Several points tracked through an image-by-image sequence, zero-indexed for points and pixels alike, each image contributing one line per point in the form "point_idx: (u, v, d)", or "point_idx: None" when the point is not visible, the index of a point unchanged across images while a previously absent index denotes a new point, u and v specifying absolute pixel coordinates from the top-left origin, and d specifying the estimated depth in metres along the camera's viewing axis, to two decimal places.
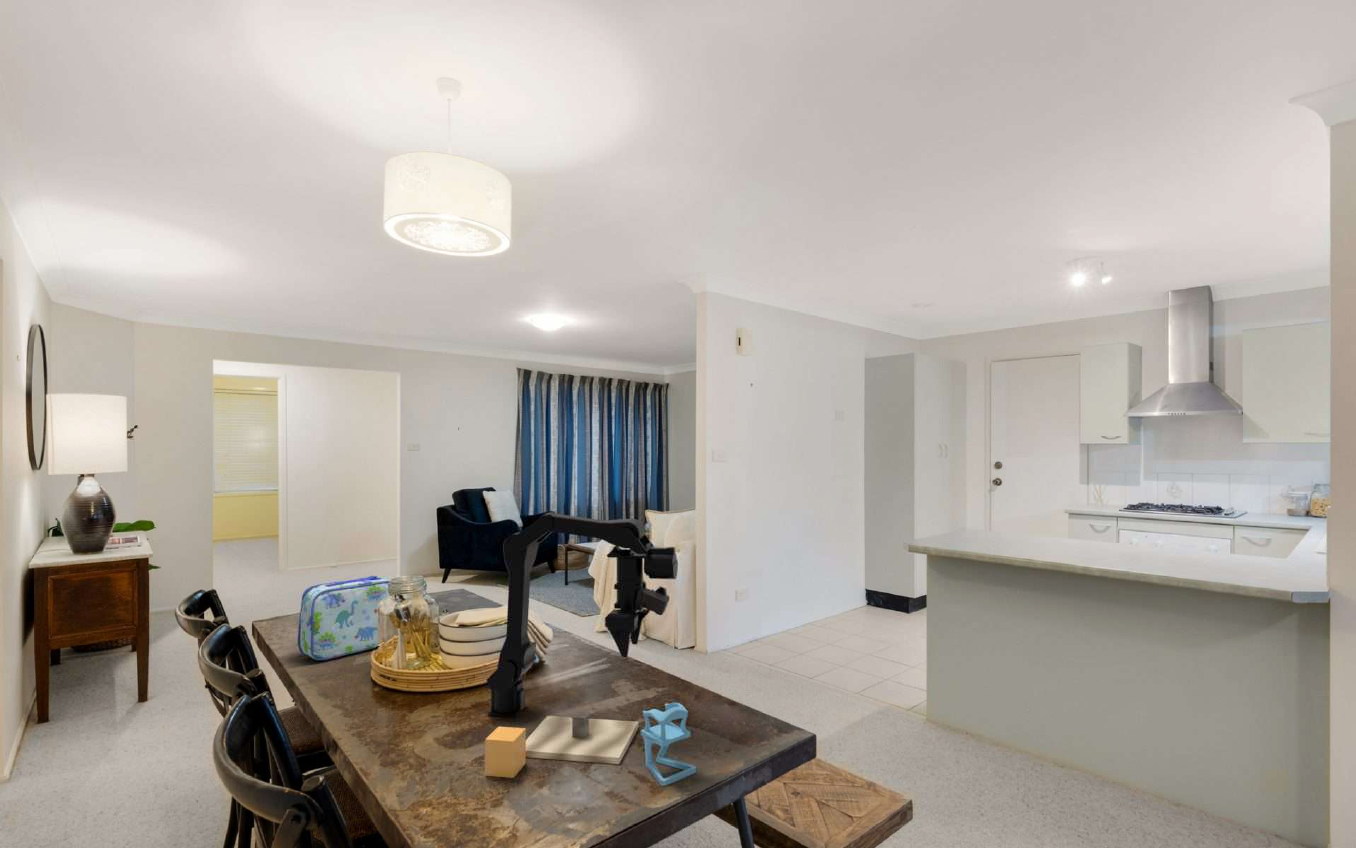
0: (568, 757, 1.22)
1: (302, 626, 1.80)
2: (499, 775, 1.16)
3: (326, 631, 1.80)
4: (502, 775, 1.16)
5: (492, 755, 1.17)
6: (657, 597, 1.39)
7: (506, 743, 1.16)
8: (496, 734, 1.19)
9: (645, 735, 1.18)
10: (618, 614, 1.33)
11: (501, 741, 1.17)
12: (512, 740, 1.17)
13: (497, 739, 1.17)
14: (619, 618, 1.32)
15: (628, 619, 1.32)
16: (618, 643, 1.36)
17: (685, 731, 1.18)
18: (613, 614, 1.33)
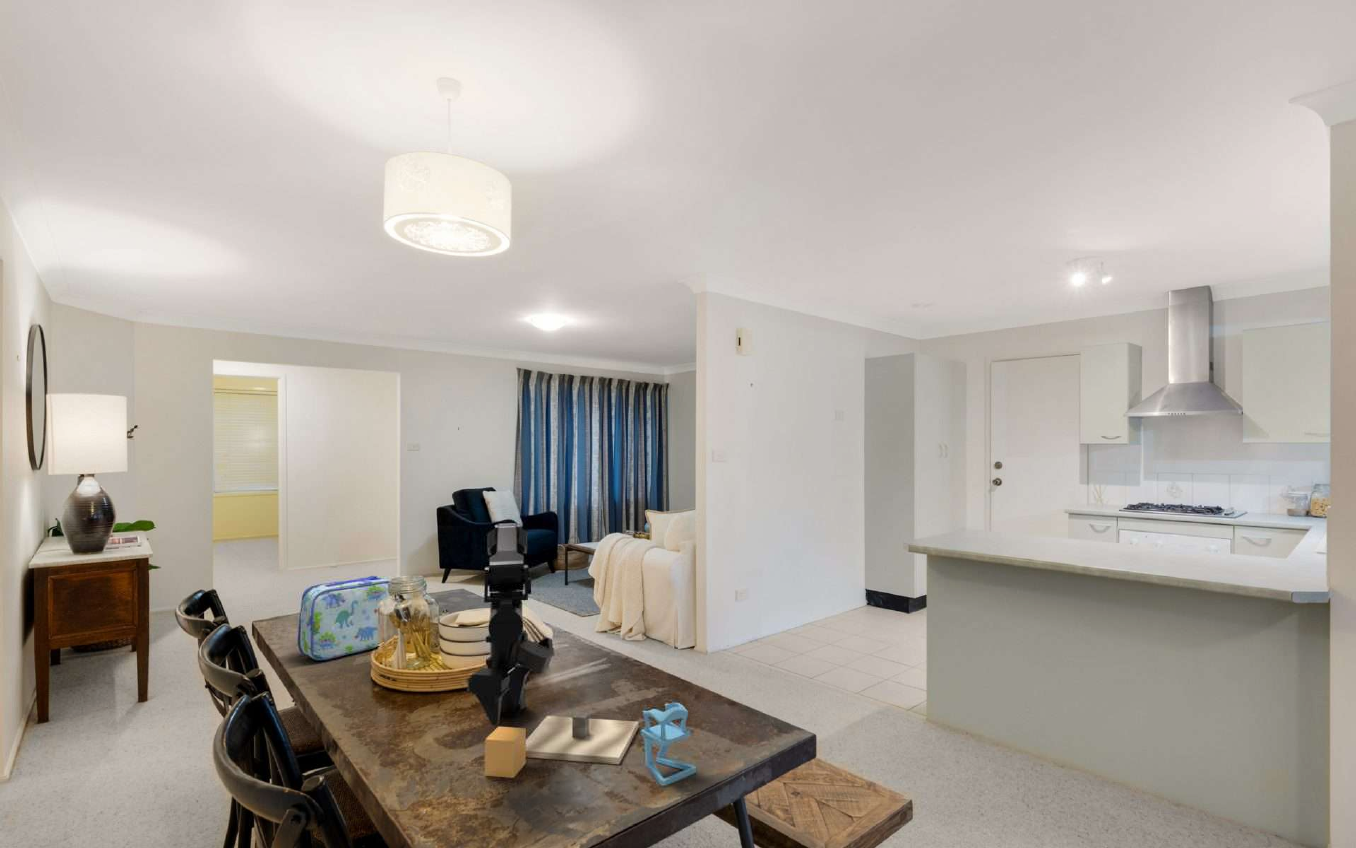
0: (568, 757, 1.22)
1: (302, 626, 1.80)
2: (499, 775, 1.16)
3: (326, 631, 1.80)
4: (502, 775, 1.16)
5: (492, 755, 1.17)
6: (536, 652, 1.17)
7: (506, 743, 1.16)
8: (496, 734, 1.19)
9: (645, 735, 1.18)
10: (483, 676, 1.11)
11: (501, 741, 1.17)
12: (512, 740, 1.17)
13: (497, 739, 1.17)
14: (483, 681, 1.11)
15: (494, 682, 1.10)
16: (486, 709, 1.14)
17: (685, 731, 1.18)
18: (477, 675, 1.11)
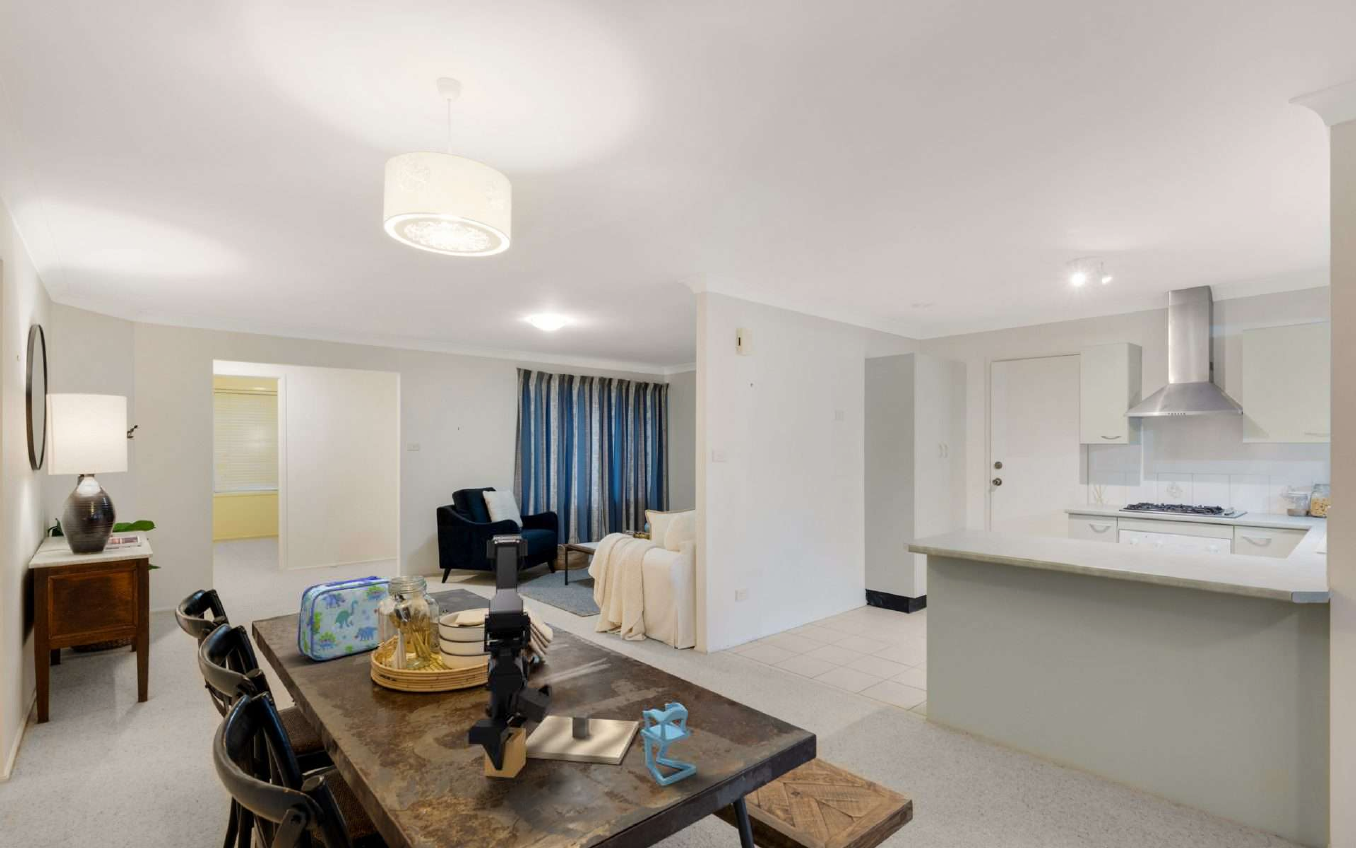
0: (568, 757, 1.22)
1: (302, 626, 1.80)
2: (499, 775, 1.16)
3: (326, 631, 1.80)
4: (502, 775, 1.16)
5: None
6: (536, 701, 1.17)
7: (506, 743, 1.16)
8: None
9: (645, 735, 1.18)
10: (482, 727, 1.11)
11: None
12: (512, 740, 1.17)
13: None
14: (483, 733, 1.10)
15: (493, 734, 1.10)
16: (490, 754, 1.16)
17: (685, 731, 1.18)
18: (476, 727, 1.11)
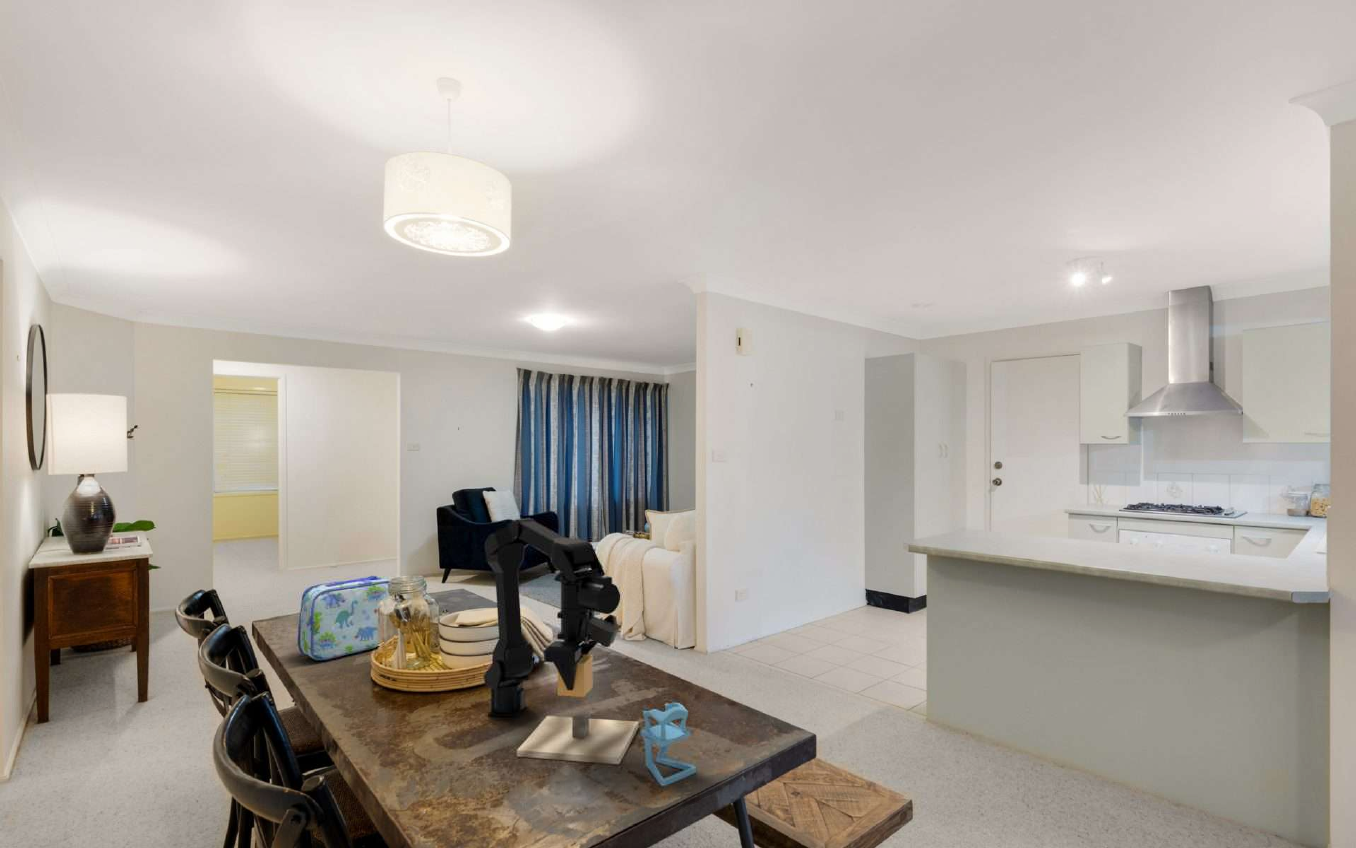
0: (568, 757, 1.22)
1: (302, 626, 1.80)
2: (571, 694, 1.27)
3: (326, 631, 1.80)
4: (573, 694, 1.27)
5: None
6: (604, 627, 1.27)
7: (577, 665, 1.27)
8: None
9: (645, 735, 1.18)
10: (558, 647, 1.21)
11: None
12: (582, 663, 1.27)
13: None
14: (558, 652, 1.21)
15: (568, 653, 1.20)
16: (562, 675, 1.26)
17: (685, 731, 1.18)
18: (552, 647, 1.22)
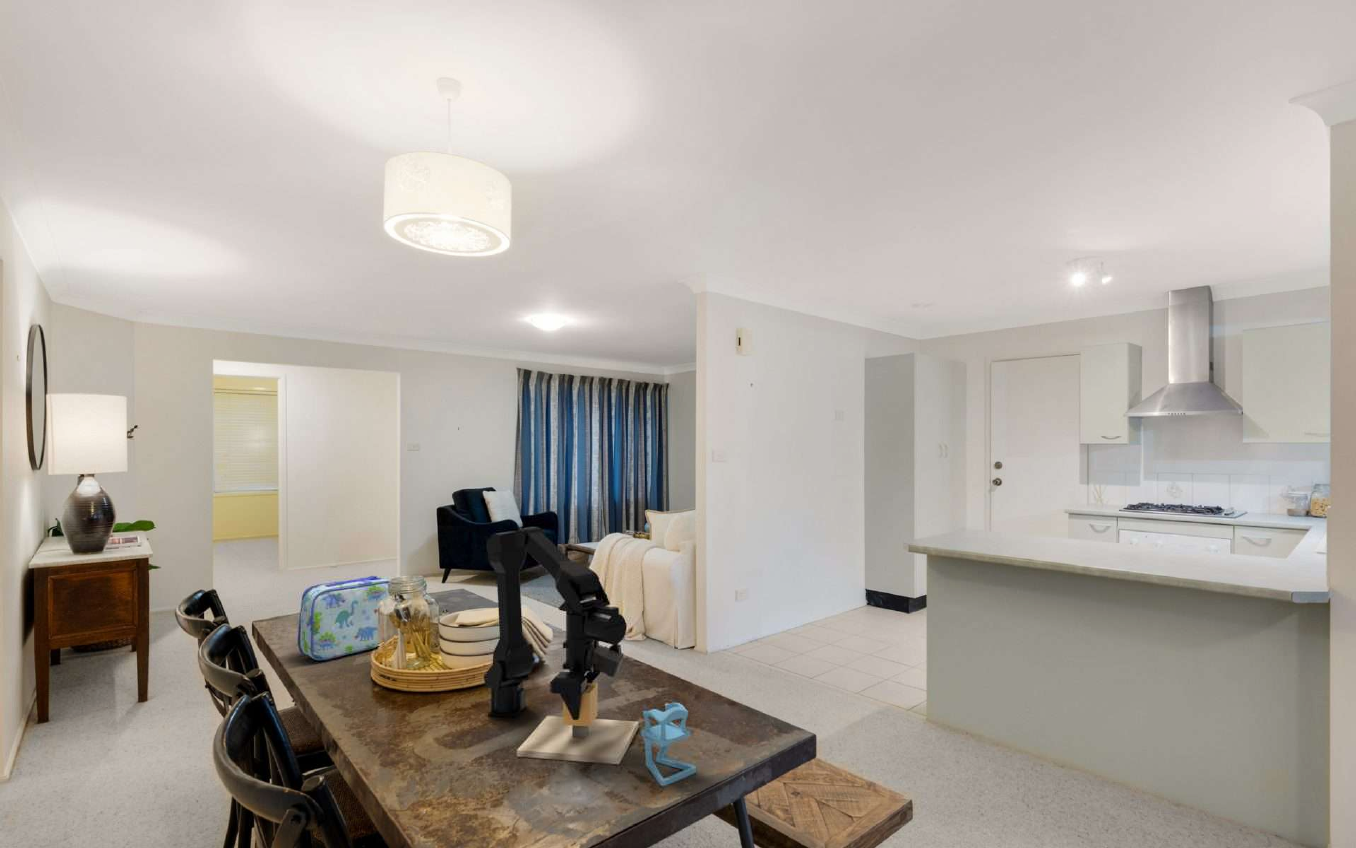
0: (568, 757, 1.22)
1: (302, 626, 1.80)
2: (576, 724, 1.28)
3: (326, 631, 1.80)
4: (579, 724, 1.28)
5: None
6: (609, 657, 1.28)
7: (582, 695, 1.28)
8: None
9: (645, 735, 1.18)
10: (564, 678, 1.22)
11: None
12: (588, 692, 1.28)
13: None
14: (565, 683, 1.22)
15: (575, 684, 1.21)
16: (568, 705, 1.27)
17: (685, 731, 1.18)
18: (559, 678, 1.22)
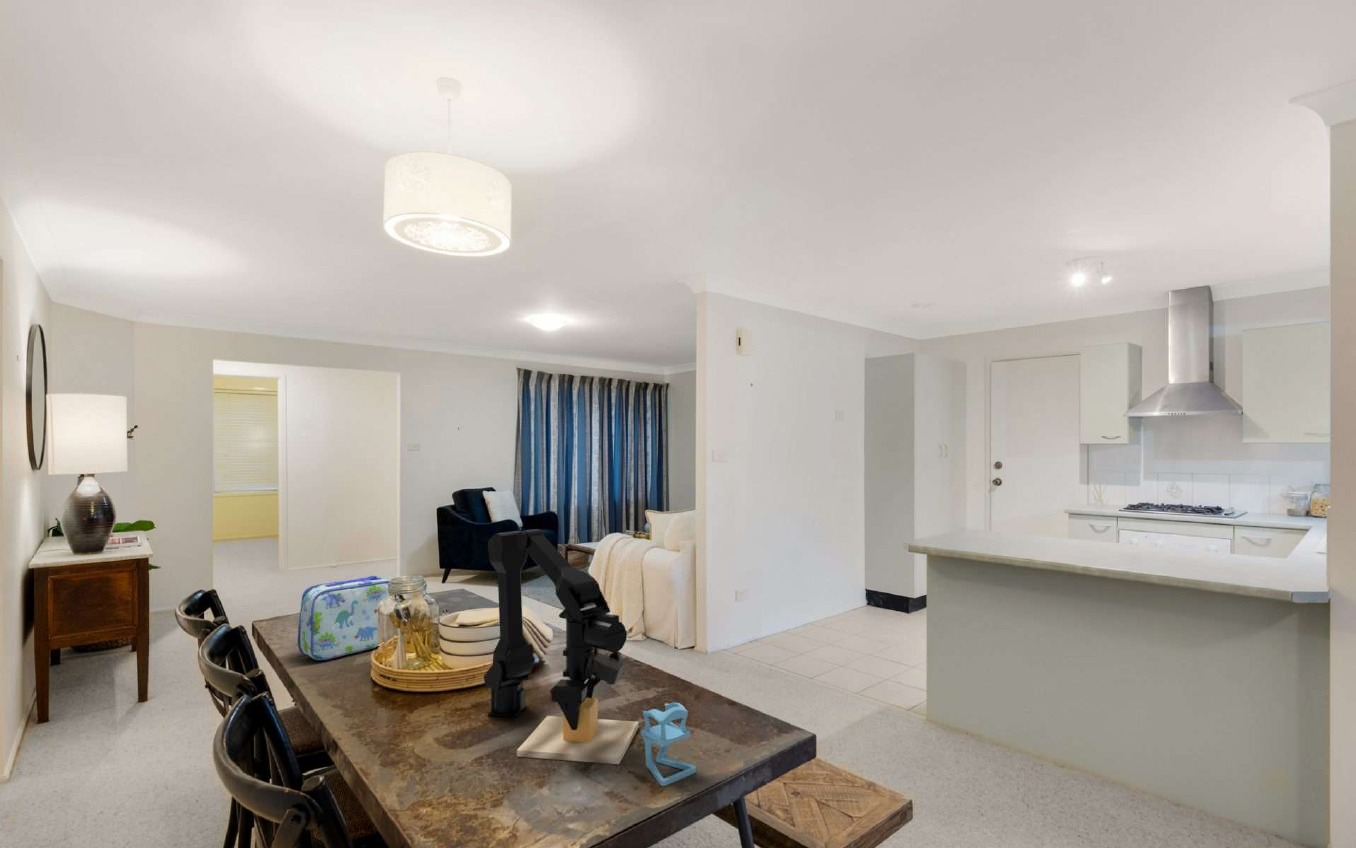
0: (568, 757, 1.22)
1: (302, 626, 1.80)
2: (576, 740, 1.28)
3: (326, 631, 1.80)
4: (579, 740, 1.27)
5: None
6: (609, 665, 1.28)
7: (582, 710, 1.28)
8: None
9: (645, 735, 1.18)
10: (564, 687, 1.22)
11: None
12: (588, 708, 1.28)
13: None
14: (565, 692, 1.21)
15: (575, 693, 1.21)
16: (566, 715, 1.26)
17: (685, 731, 1.18)
18: (559, 687, 1.22)
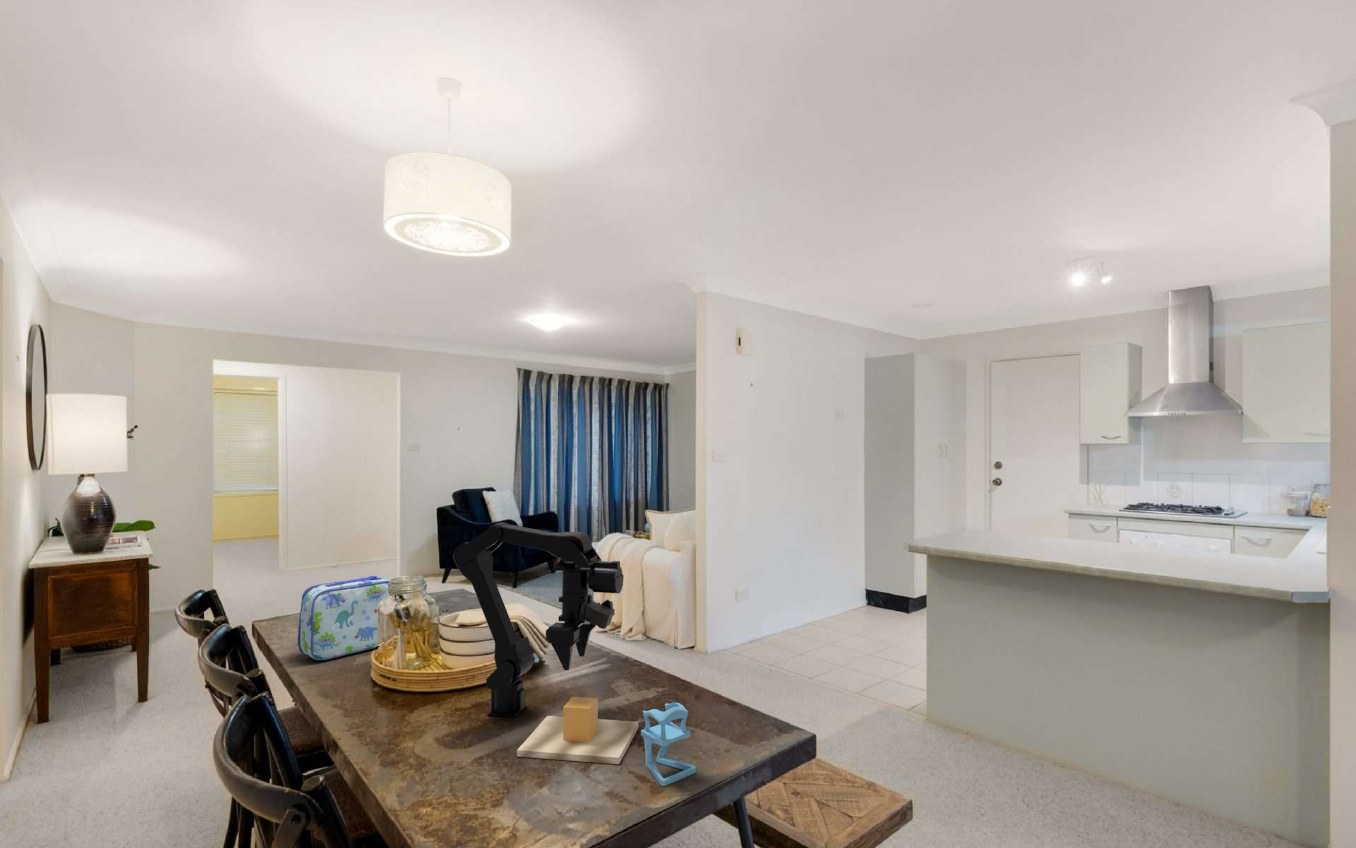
0: (568, 757, 1.22)
1: (302, 626, 1.80)
2: (576, 740, 1.28)
3: (326, 631, 1.80)
4: (579, 740, 1.27)
5: (569, 721, 1.28)
6: (600, 611, 1.40)
7: (582, 710, 1.28)
8: (572, 703, 1.30)
9: (645, 735, 1.18)
10: (558, 627, 1.34)
11: (578, 709, 1.28)
12: (588, 708, 1.28)
13: (573, 707, 1.28)
14: (559, 632, 1.34)
15: (567, 633, 1.33)
16: (559, 656, 1.37)
17: (685, 731, 1.18)
18: (553, 627, 1.34)
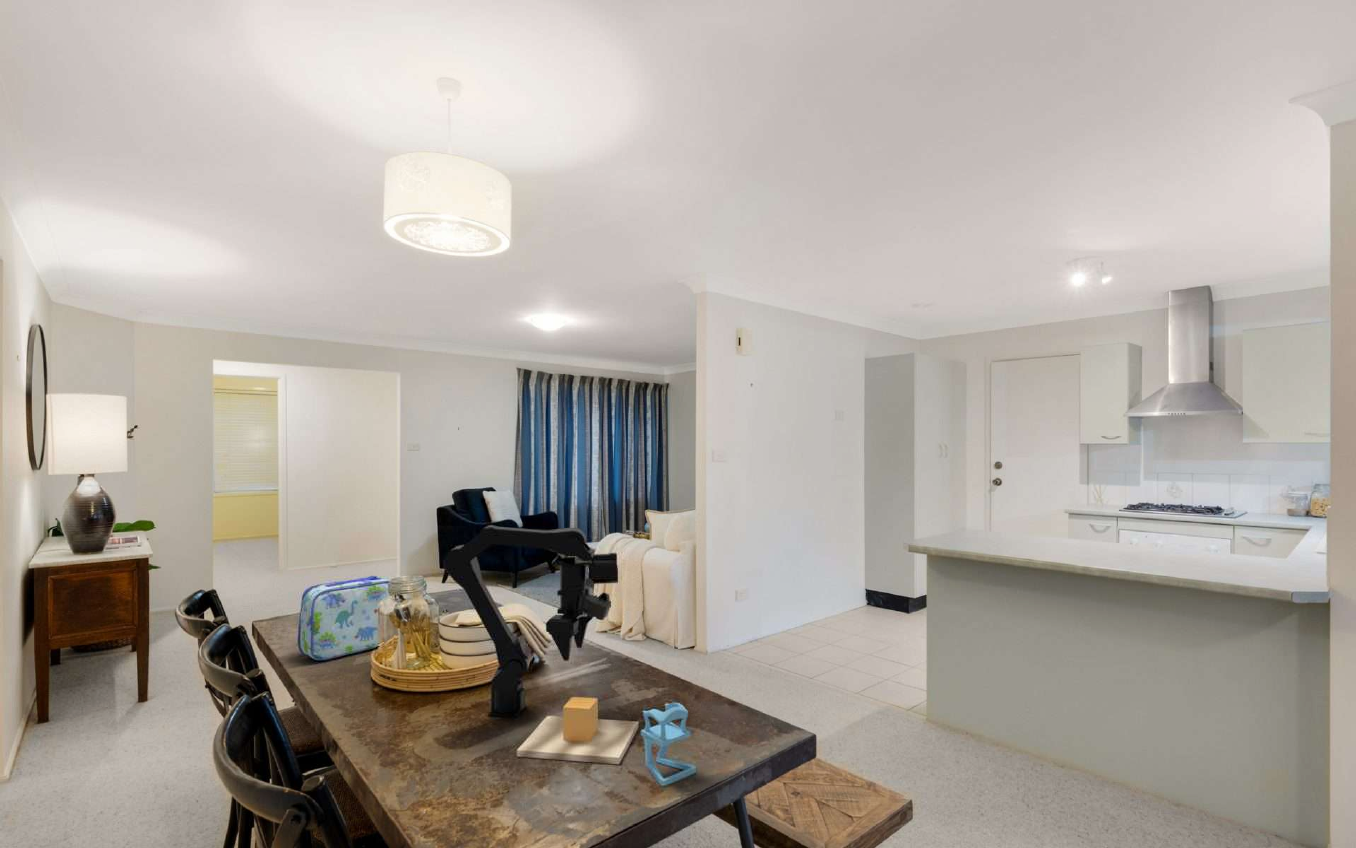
0: (568, 757, 1.22)
1: (302, 626, 1.80)
2: (576, 740, 1.28)
3: (326, 631, 1.80)
4: (579, 740, 1.27)
5: (569, 721, 1.28)
6: (598, 603, 1.45)
7: (582, 710, 1.28)
8: (572, 703, 1.30)
9: (645, 735, 1.18)
10: (558, 619, 1.39)
11: (578, 709, 1.28)
12: (588, 708, 1.28)
13: (573, 707, 1.28)
14: (559, 623, 1.39)
15: (567, 624, 1.38)
16: (559, 647, 1.42)
17: (685, 731, 1.18)
18: (554, 619, 1.39)
